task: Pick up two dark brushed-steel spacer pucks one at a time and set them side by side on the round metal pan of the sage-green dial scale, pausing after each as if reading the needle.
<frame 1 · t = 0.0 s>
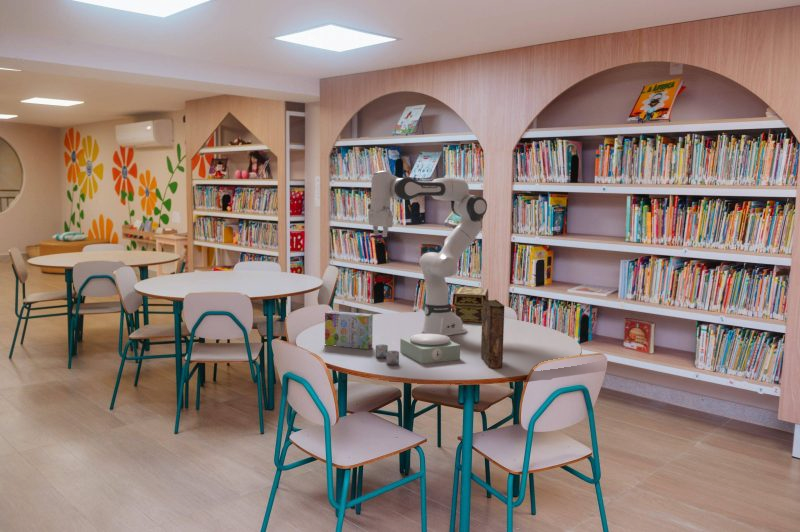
hand: (380, 236, 297), 48 cm above the table, fingers open, 8 cm apart
scale: (429, 355, 271), on the table
book: (491, 363, 261), on the table
decorative box: (470, 317, 353), on the table
spacer b: (381, 357, 267), on the table
spacer a: (392, 364, 257), on the table
snack box: (348, 346, 285), on the table
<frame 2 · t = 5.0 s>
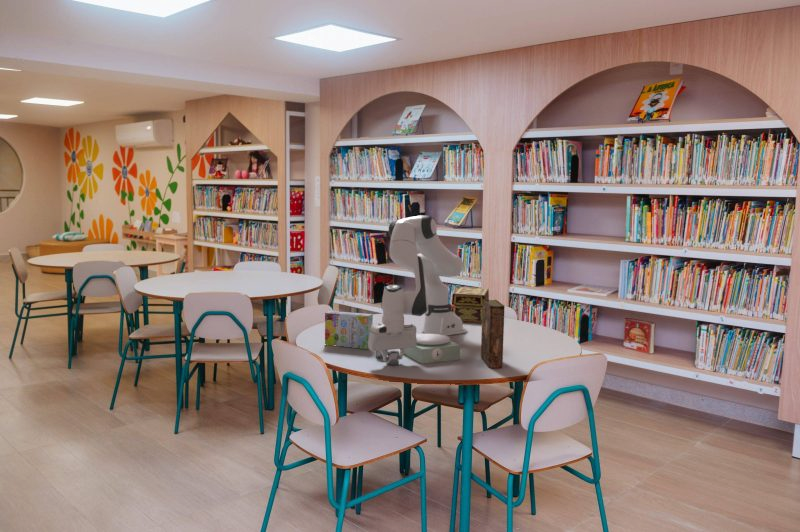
hand: (392, 359, 257), 2 cm above the table, fingers closed on spacer a, 5 cm apart
spacer a: (392, 364, 257), on the table, touching gripper
everything else where it was.
when the fingers open (11 cm above the table, at t = 9.1 s): spacer a stays where it is, resting on scale.
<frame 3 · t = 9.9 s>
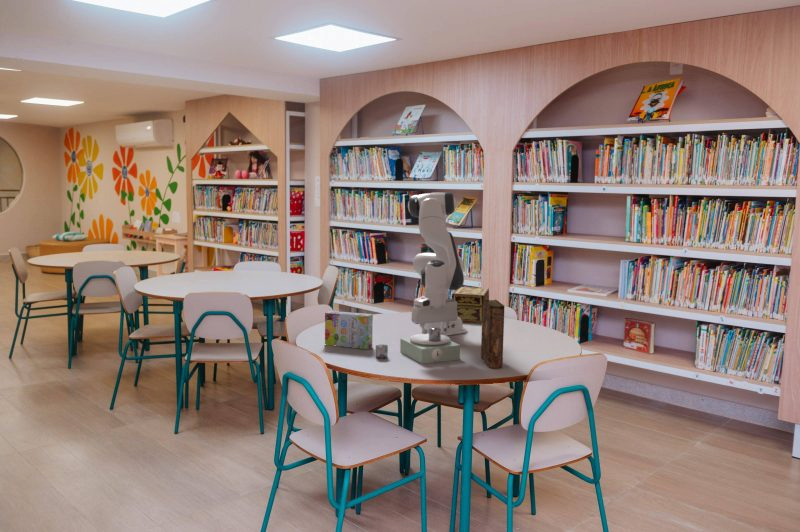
hand: (434, 332, 266), 11 cm above the table, fingers open, 8 cm apart
spacer a: (434, 340, 267), point 7 cm above the table, touching scale
everything else where it was.
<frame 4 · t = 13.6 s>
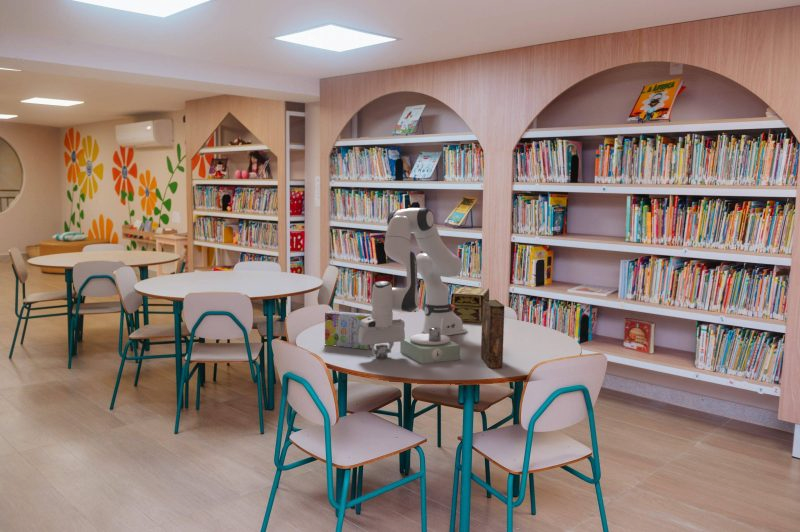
hand: (381, 353, 267), 2 cm above the table, fingers closed on spacer b, 5 cm apart
spacer b: (381, 357, 267), on the table, touching gripper
everything else where it was.
when the fingers open (11 cm above the table, at t = 17.9 s): spacer b stays where it is, resting on scale.
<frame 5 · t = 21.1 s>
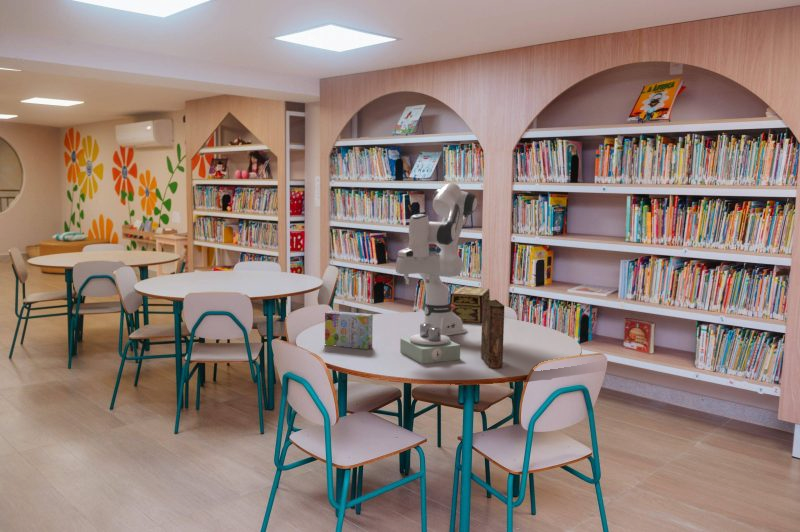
hand: (418, 283, 278), 29 cm above the table, fingers open, 8 cm apart
spacer b: (425, 336, 274), point 7 cm above the table, touching scale
at the end: spacer a inside the target area on the scale (4.0 cm from its centre), point 7.5 cm above the scale's base; spacer b inside the target area on the scale (4.0 cm from its centre), point 7.5 cm above the scale's base; spacer b tilted 0° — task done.
